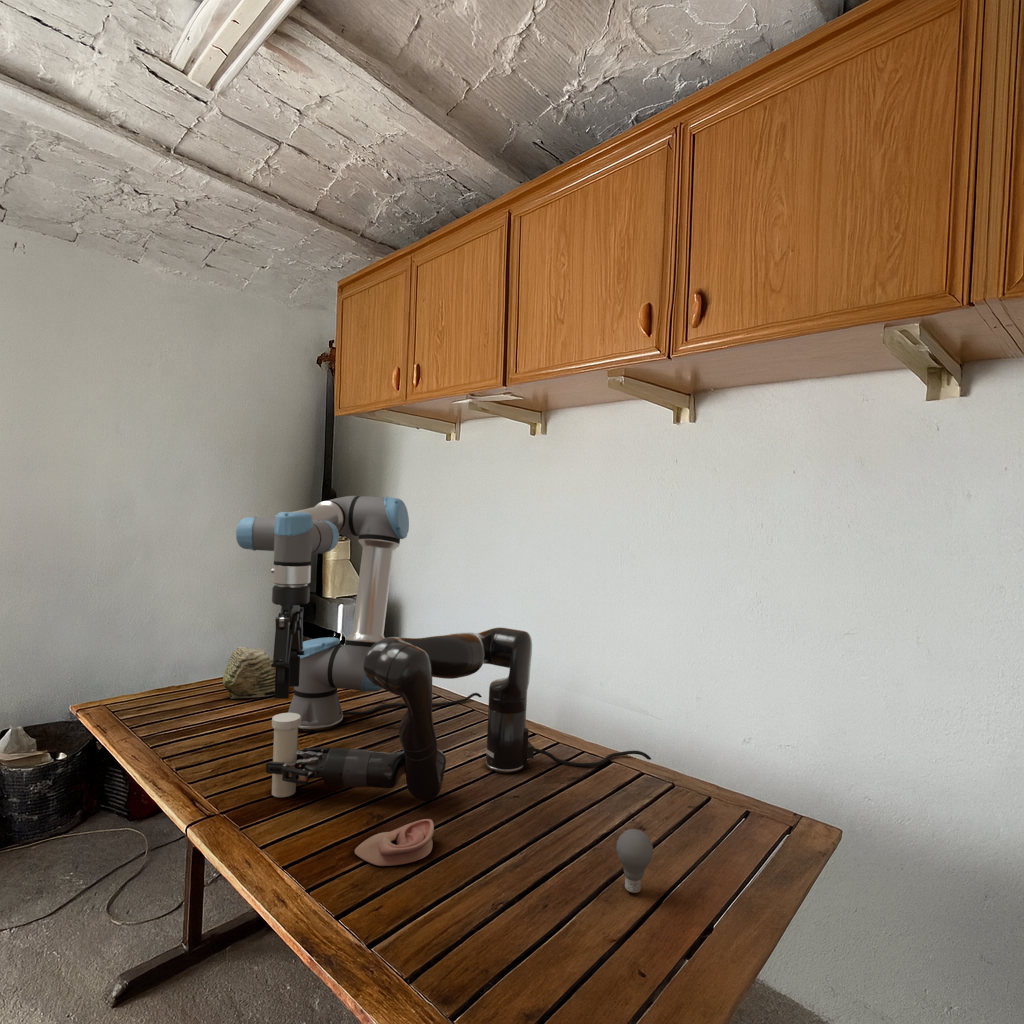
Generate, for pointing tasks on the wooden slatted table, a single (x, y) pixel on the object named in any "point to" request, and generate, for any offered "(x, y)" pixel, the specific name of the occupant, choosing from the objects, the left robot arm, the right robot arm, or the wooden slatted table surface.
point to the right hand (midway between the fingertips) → (272, 762)
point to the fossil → (249, 674)
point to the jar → (284, 759)
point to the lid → (286, 721)
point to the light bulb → (634, 857)
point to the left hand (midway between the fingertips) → (287, 691)
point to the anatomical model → (398, 844)
